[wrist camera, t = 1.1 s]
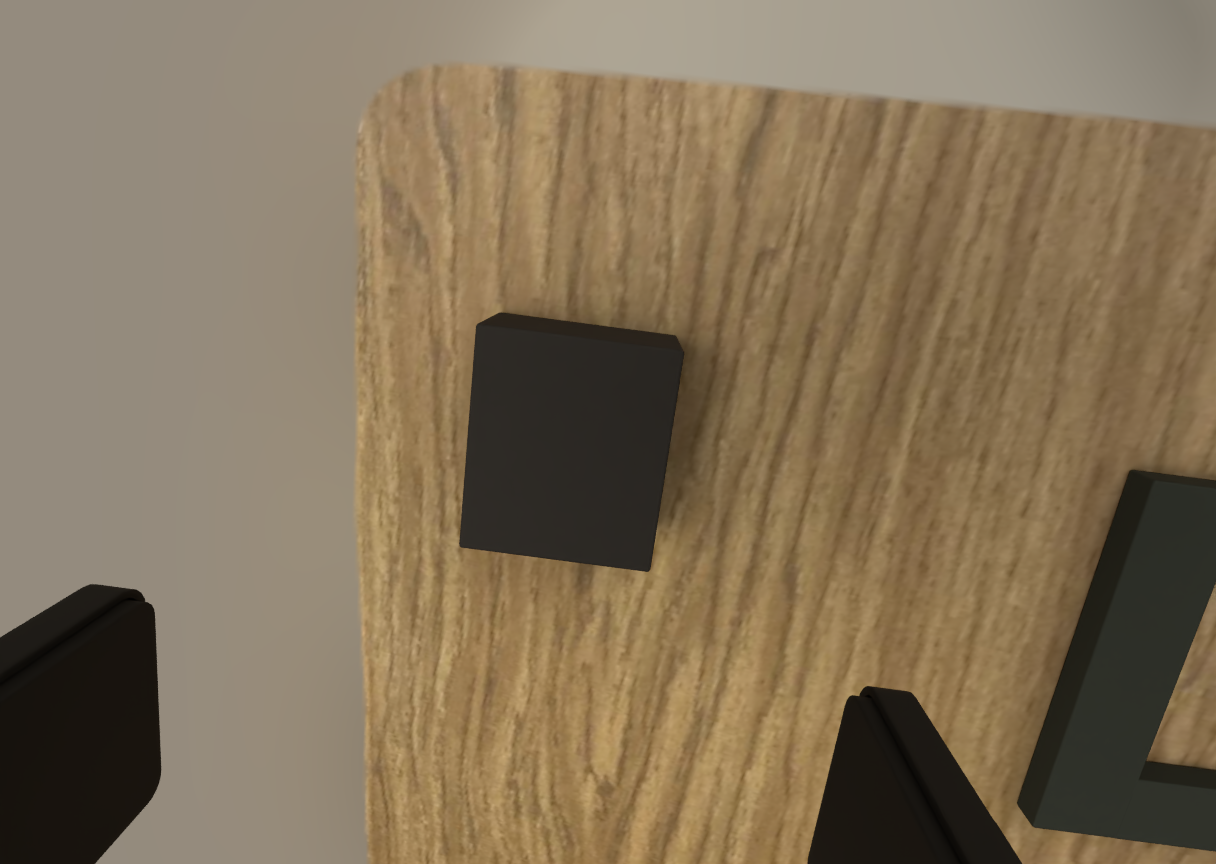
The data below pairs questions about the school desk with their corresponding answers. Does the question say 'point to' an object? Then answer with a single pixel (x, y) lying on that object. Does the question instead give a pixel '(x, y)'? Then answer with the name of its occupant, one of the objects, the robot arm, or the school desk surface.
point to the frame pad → (1132, 677)
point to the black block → (568, 440)
